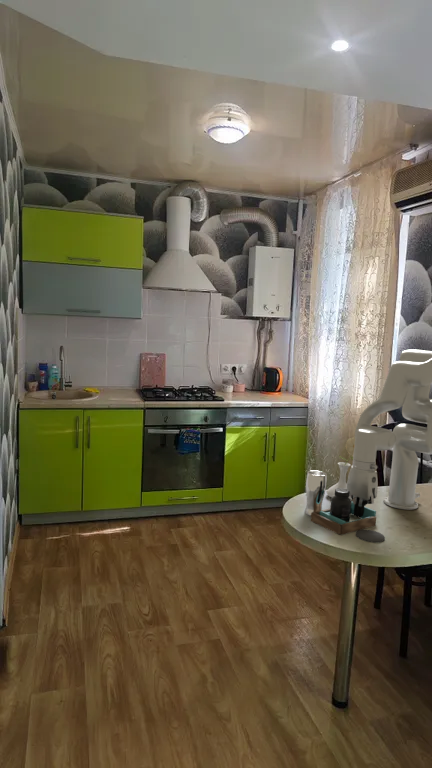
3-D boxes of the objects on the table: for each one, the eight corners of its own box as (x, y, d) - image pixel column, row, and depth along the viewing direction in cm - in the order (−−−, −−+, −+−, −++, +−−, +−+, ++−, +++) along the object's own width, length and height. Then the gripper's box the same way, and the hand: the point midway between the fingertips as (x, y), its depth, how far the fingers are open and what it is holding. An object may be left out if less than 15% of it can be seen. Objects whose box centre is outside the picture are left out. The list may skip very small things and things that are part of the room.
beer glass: (323, 518, 181) (327, 476, 179) (303, 516, 182) (307, 474, 180) (322, 511, 187) (326, 471, 186) (303, 509, 188) (307, 469, 187)
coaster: (367, 529, 174) (367, 527, 173) (390, 539, 166) (390, 537, 166) (349, 534, 168) (349, 532, 168) (372, 544, 161) (372, 542, 161)
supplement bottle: (324, 522, 177) (327, 488, 176) (339, 519, 181) (342, 486, 180) (338, 529, 172) (342, 494, 170) (353, 526, 175) (357, 492, 174)
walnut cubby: (345, 512, 188) (346, 504, 188) (375, 525, 177) (376, 517, 177) (310, 521, 177) (311, 512, 177) (340, 535, 167) (341, 526, 167)
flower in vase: (325, 500, 200) (331, 437, 197) (326, 491, 211) (332, 431, 208) (360, 505, 197) (367, 441, 194) (359, 496, 208) (365, 435, 205)
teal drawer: (350, 512, 188) (351, 501, 187) (374, 522, 179) (376, 511, 179) (318, 520, 178) (320, 508, 178) (343, 531, 170) (344, 518, 169)
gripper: (388, 469, 176) (382, 521, 178) (353, 458, 188) (348, 507, 190) (374, 471, 172) (368, 525, 174) (339, 460, 184) (334, 510, 186)
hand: (358, 515), depth 182 cm, fingers closed
